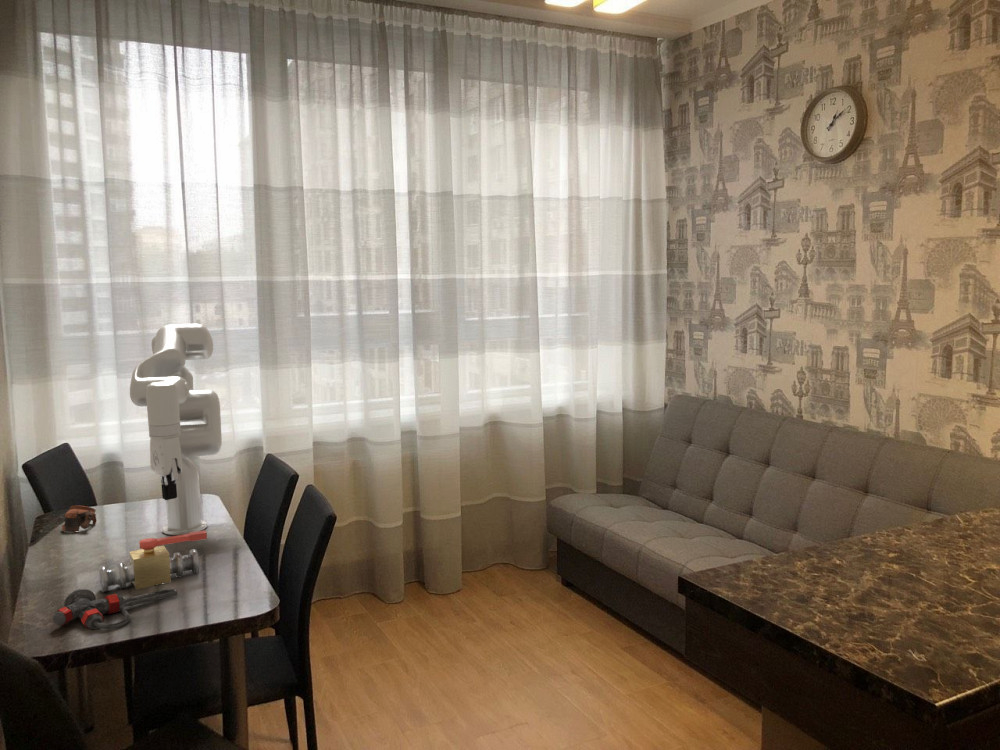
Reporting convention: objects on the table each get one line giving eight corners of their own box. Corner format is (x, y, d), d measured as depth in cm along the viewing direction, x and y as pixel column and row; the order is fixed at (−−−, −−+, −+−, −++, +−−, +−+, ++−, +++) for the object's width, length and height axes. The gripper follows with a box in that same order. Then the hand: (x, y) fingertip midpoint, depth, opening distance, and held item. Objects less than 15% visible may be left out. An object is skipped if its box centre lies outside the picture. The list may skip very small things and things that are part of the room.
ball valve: (100, 587, 193) (97, 552, 192) (194, 568, 205) (192, 535, 204) (103, 596, 188) (100, 560, 187) (200, 576, 199) (198, 542, 198)
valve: (65, 653, 163) (46, 621, 174) (191, 621, 181) (166, 594, 191) (66, 625, 162) (46, 594, 172) (192, 595, 180) (167, 569, 190)
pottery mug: (53, 533, 240) (60, 506, 243) (83, 539, 247) (89, 513, 250) (74, 528, 234) (81, 501, 237) (105, 535, 241) (111, 508, 244)
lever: (205, 535, 204) (204, 529, 203) (207, 539, 200) (207, 533, 200) (139, 545, 196) (138, 539, 196) (140, 550, 193) (140, 544, 193)
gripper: (139, 427, 207) (144, 495, 210) (160, 437, 196) (166, 508, 199) (168, 423, 212) (173, 489, 215) (190, 432, 201) (195, 501, 204)
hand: (169, 498), depth 207 cm, fingers closed
